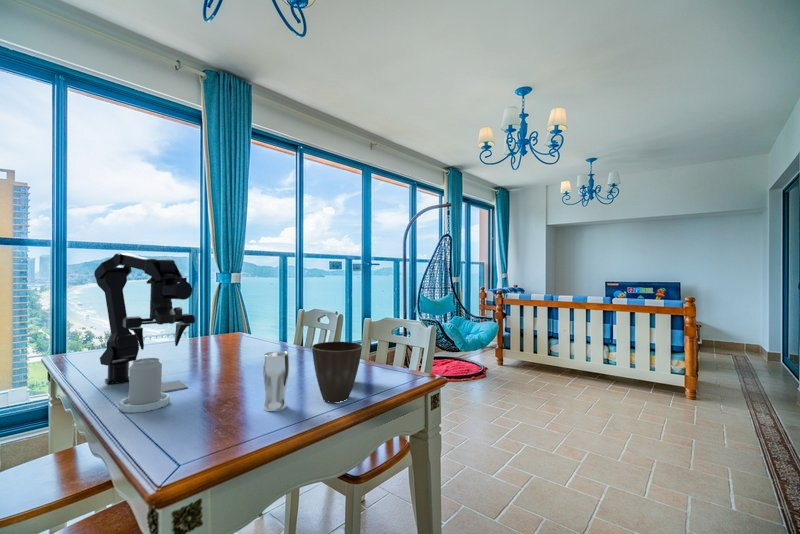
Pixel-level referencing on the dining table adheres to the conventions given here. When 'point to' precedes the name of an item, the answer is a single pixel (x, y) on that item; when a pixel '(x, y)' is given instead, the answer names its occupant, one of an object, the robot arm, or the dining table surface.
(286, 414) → the dining table surface
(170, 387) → the mat
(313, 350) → the plant pot
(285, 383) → the beer glass
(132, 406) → the dish
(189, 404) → the dining table surface
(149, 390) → the can
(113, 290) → the robot arm
